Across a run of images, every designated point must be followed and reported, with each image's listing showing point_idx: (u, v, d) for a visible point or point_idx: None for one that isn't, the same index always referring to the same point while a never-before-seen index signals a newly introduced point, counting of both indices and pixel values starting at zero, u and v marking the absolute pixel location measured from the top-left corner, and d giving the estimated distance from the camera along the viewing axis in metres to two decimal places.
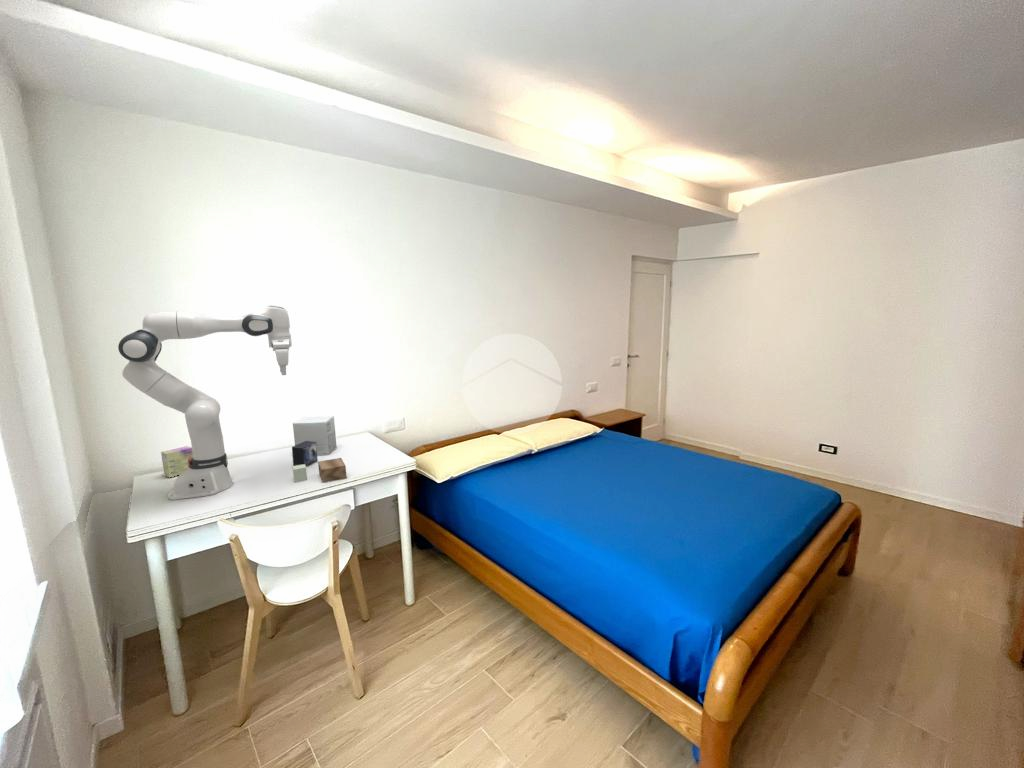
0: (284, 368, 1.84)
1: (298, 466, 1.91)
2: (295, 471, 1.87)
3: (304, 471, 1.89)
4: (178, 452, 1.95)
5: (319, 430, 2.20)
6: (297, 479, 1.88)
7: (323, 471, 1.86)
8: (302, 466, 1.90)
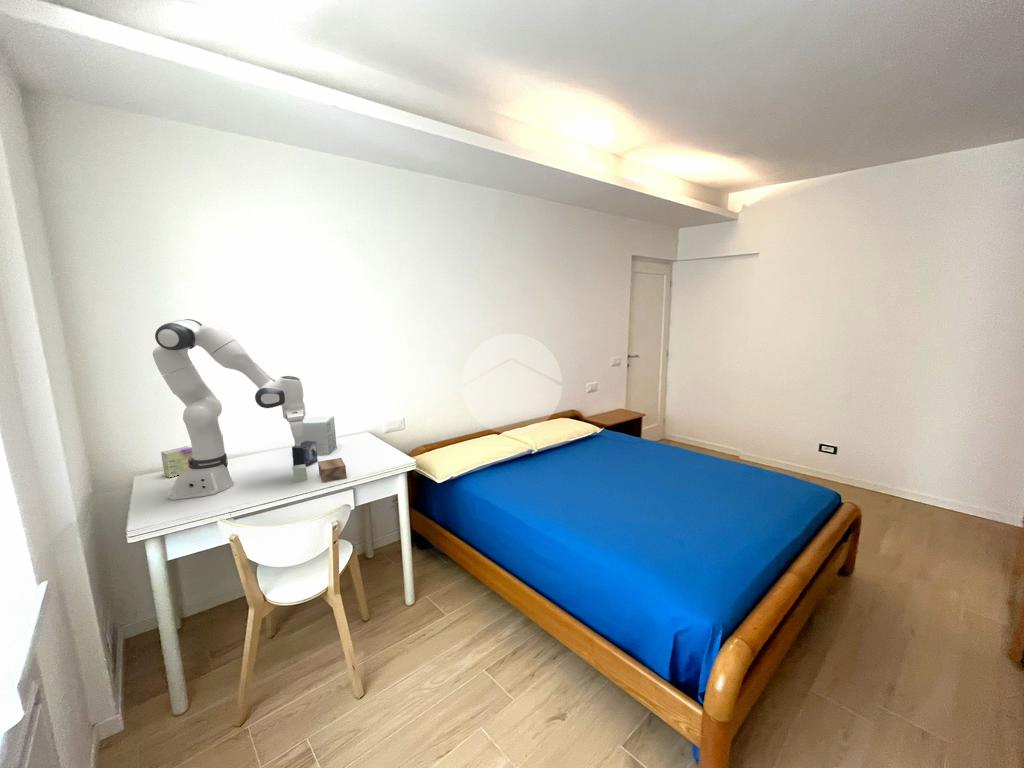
0: (299, 439, 1.82)
1: (298, 466, 1.91)
2: (295, 471, 1.87)
3: (304, 471, 1.89)
4: (178, 452, 1.95)
5: (319, 430, 2.20)
6: (297, 479, 1.88)
7: (323, 471, 1.86)
8: (302, 466, 1.90)
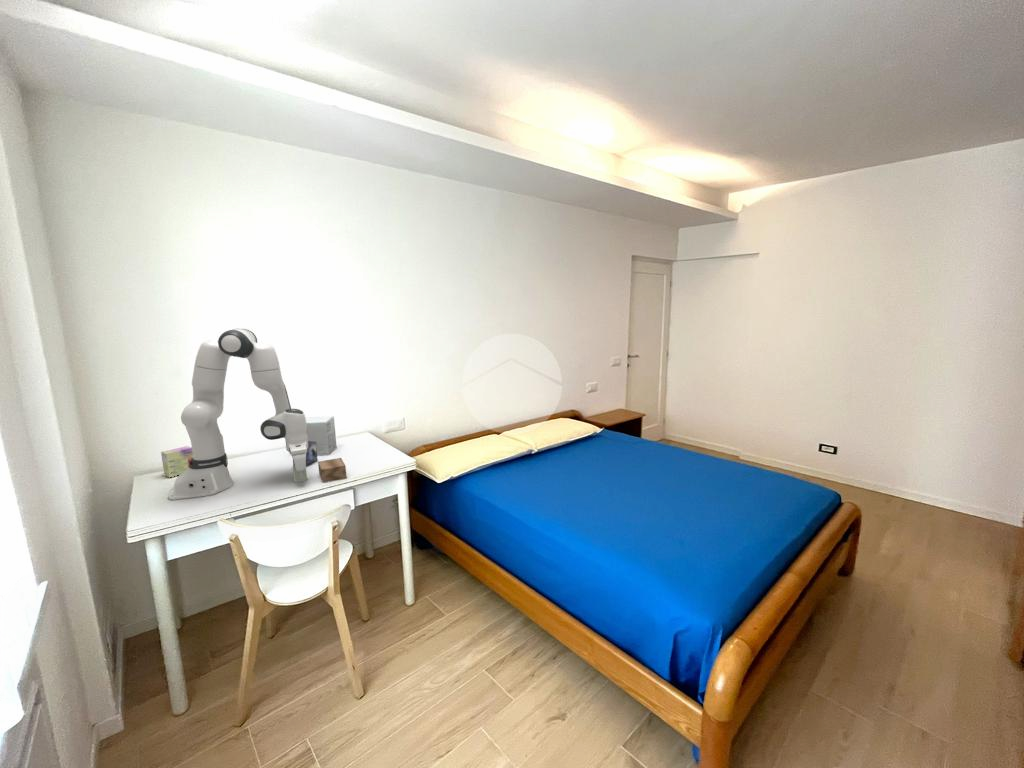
0: (301, 471, 1.86)
1: None
2: (295, 471, 1.87)
3: (304, 471, 1.89)
4: (178, 452, 1.95)
5: (319, 430, 2.20)
6: (297, 479, 1.88)
7: (323, 471, 1.86)
8: None
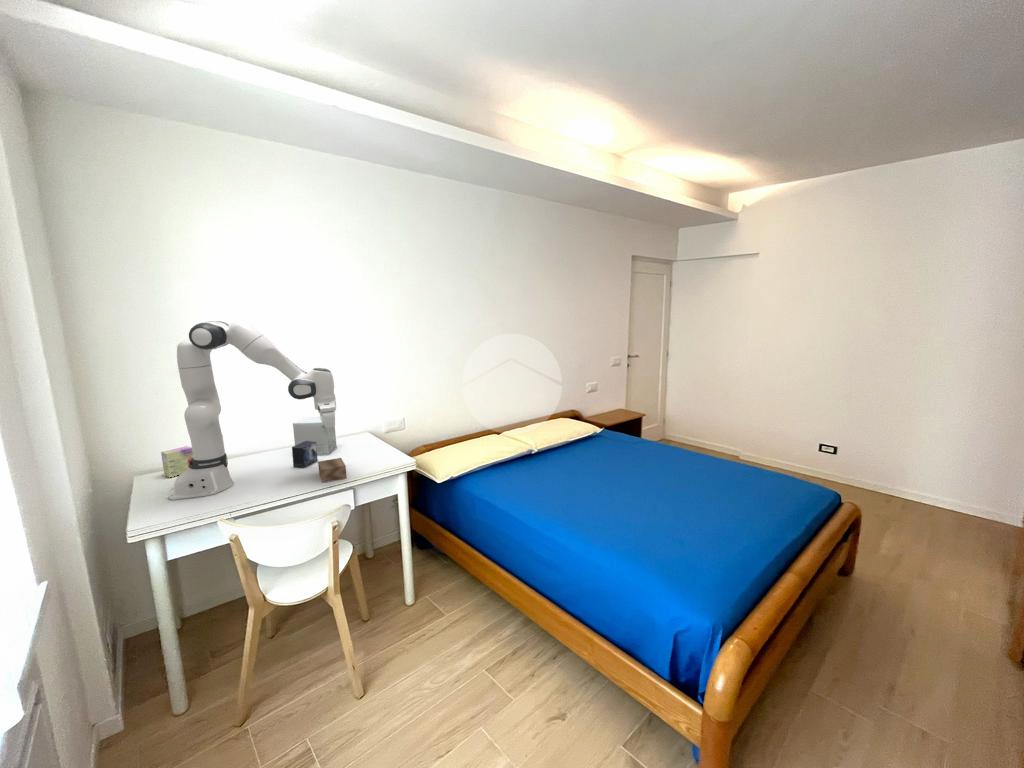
0: (330, 429, 1.86)
1: None
2: (324, 430, 1.87)
3: (333, 430, 1.89)
4: (178, 452, 1.95)
5: (319, 430, 2.20)
6: (326, 438, 1.88)
7: (323, 471, 1.86)
8: None
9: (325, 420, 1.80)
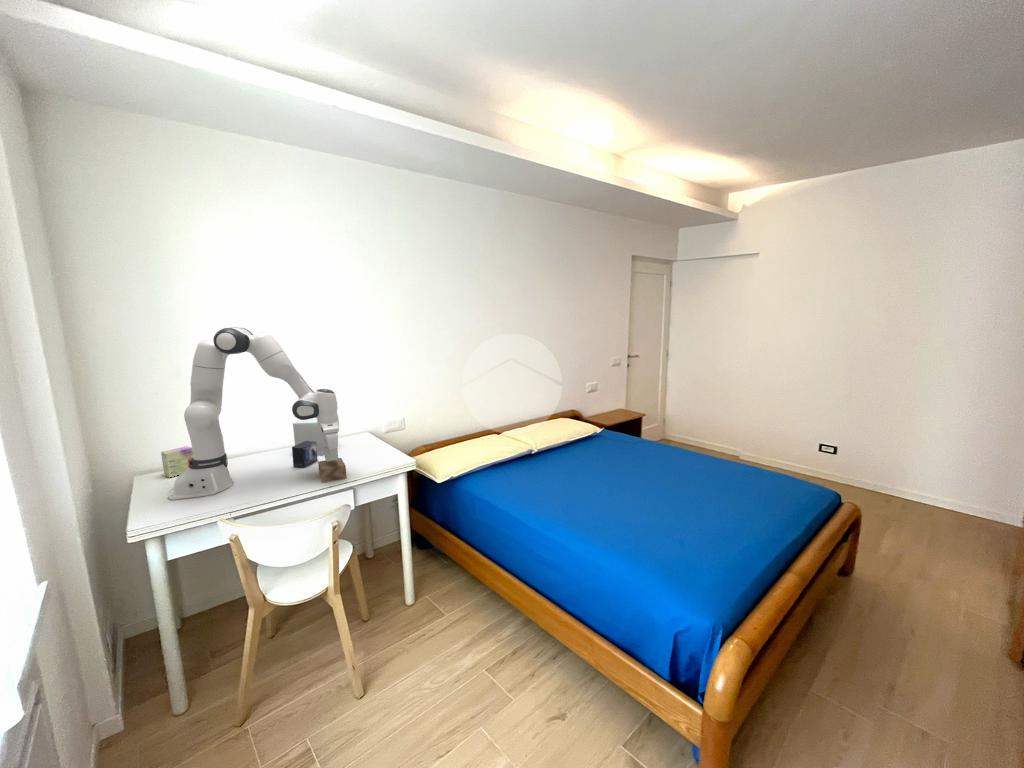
0: (332, 450, 1.88)
1: None
2: (327, 450, 1.89)
3: (335, 450, 1.91)
4: (178, 452, 1.95)
5: (319, 430, 2.20)
6: (329, 458, 1.90)
7: (323, 471, 1.86)
8: None
9: (328, 441, 1.82)
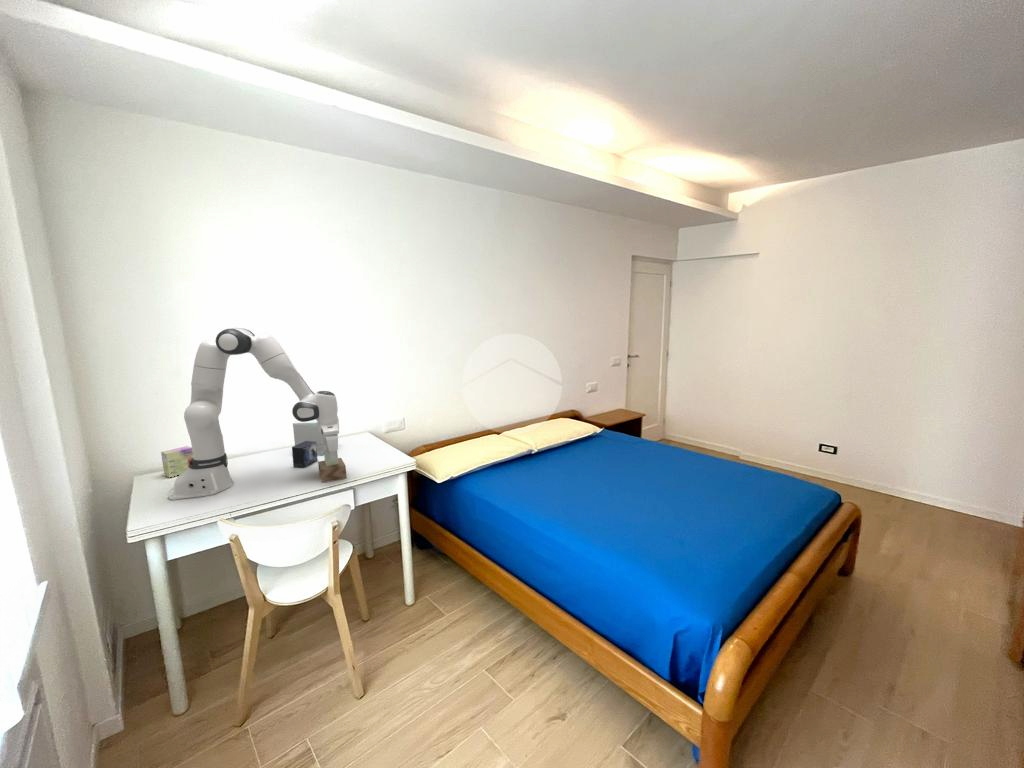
0: (333, 453, 1.87)
1: None
2: (327, 455, 1.89)
3: (335, 455, 1.91)
4: (178, 452, 1.95)
5: None
6: (329, 463, 1.90)
7: (323, 471, 1.86)
8: None
9: (328, 443, 1.82)
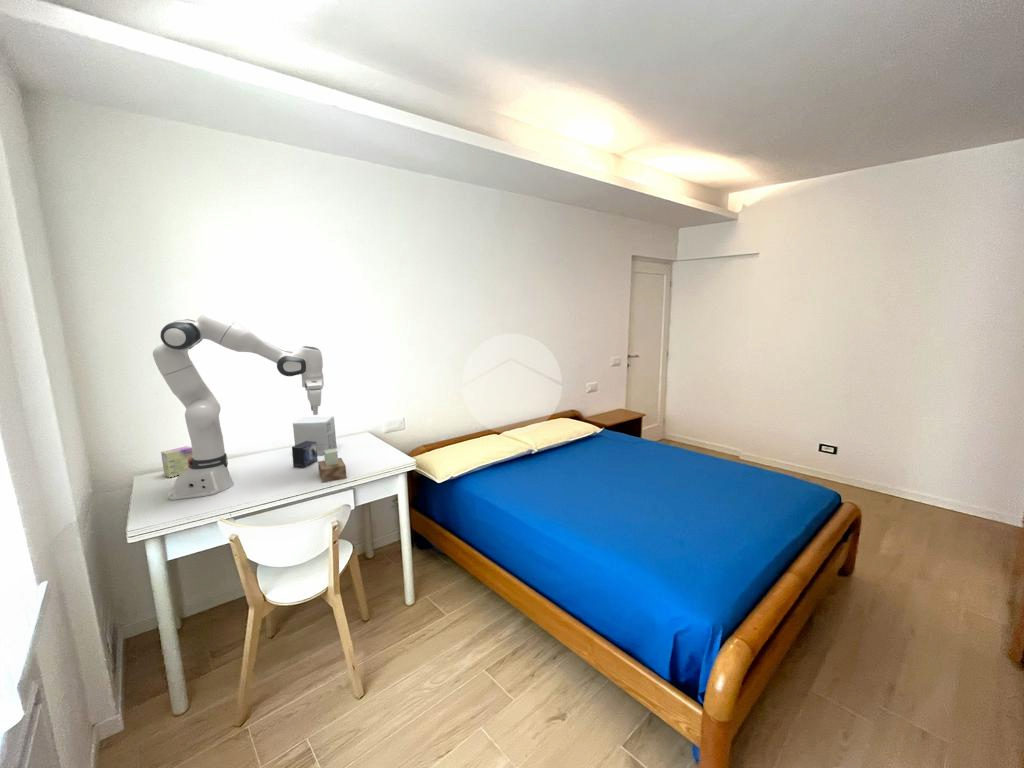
0: (316, 408, 1.87)
1: (329, 450, 1.93)
2: (327, 455, 1.89)
3: (335, 455, 1.91)
4: (178, 452, 1.95)
5: (319, 430, 2.20)
6: (329, 463, 1.90)
7: (323, 471, 1.86)
8: (333, 450, 1.93)
9: (311, 397, 1.82)
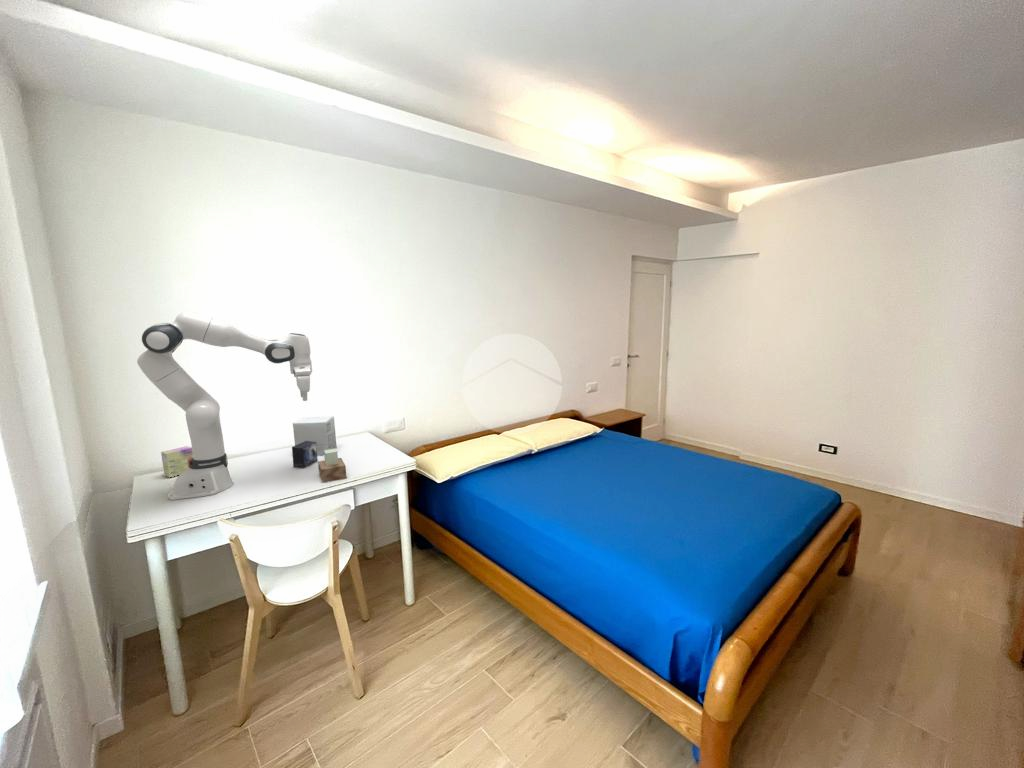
0: (305, 394, 1.88)
1: (329, 450, 1.93)
2: (327, 455, 1.89)
3: (335, 455, 1.91)
4: (178, 452, 1.95)
5: (319, 430, 2.20)
6: (329, 463, 1.90)
7: (323, 471, 1.86)
8: (333, 450, 1.93)
9: (300, 383, 1.83)
